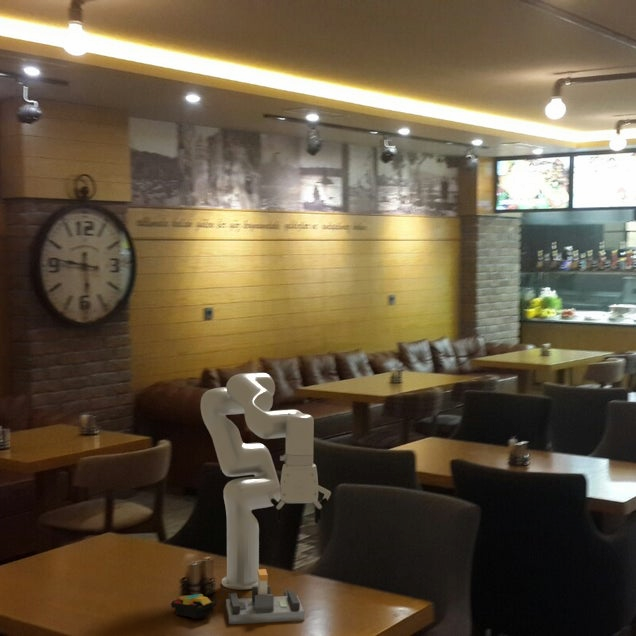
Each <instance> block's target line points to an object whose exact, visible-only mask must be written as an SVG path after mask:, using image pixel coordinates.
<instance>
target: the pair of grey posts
mask: <svg viewBox="0 0 636 636" xmlns="http://www.w3.org/2000/svg"><path fill="white" fill-rule="evenodd" d="M237 593H238V592H229V593H228V594H227V599H230V602H231V606H232V611H233V613H240V605H239V601H238V599H239V598H238V594H237ZM283 596H287V597H288V599H289V602H290V604H291V607H292V609H293V610H300V603H299V600H300V599H299V600H298V598H299V597H298V598H297V596H298V595H296V592H295V590H294V589H287V590H283Z"/></svg>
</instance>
